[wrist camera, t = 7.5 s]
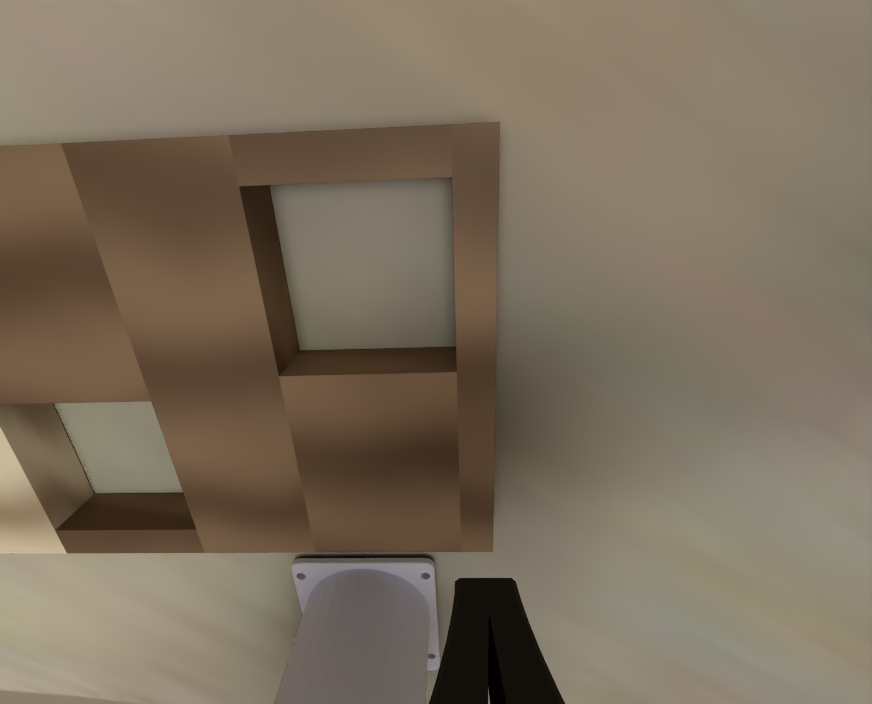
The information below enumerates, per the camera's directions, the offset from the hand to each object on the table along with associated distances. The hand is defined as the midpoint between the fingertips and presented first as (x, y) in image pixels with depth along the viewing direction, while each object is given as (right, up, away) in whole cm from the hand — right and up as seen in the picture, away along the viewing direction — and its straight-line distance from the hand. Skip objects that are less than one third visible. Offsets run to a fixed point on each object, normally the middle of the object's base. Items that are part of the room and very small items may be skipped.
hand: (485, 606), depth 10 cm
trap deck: (-12, +6, +9) cm, 16 cm away
